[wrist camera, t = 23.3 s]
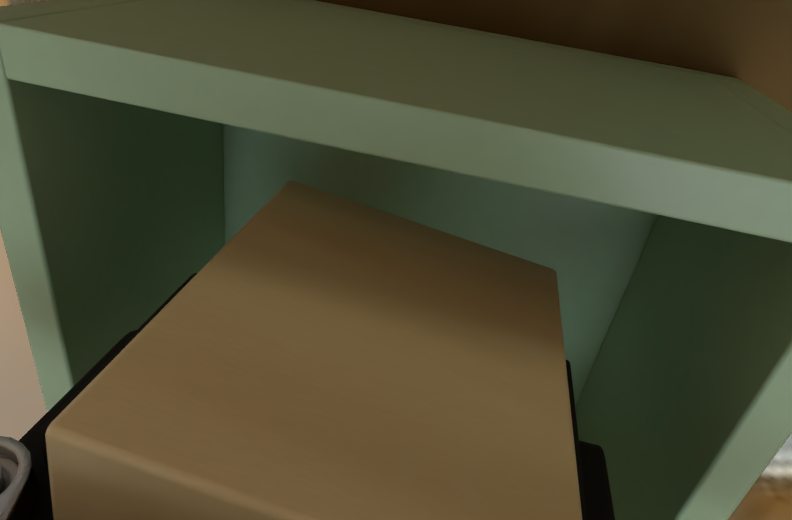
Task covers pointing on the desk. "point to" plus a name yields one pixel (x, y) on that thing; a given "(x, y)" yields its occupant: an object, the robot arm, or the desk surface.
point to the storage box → (420, 199)
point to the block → (332, 383)
